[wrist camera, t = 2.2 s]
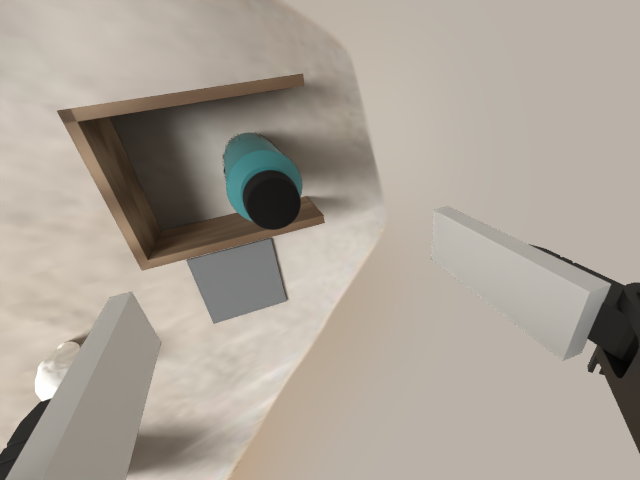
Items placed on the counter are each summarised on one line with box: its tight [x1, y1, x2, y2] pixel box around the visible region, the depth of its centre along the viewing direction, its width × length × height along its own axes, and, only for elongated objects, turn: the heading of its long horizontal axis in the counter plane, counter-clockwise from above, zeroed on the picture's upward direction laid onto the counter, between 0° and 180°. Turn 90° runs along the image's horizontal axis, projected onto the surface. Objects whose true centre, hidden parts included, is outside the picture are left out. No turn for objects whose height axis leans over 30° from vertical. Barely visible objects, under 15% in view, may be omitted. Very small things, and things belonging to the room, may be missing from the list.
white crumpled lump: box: [35, 342, 80, 401], centre depth 39 cm, size 6×8×12 cm
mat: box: [187, 238, 287, 323], centre depth 44 cm, size 12×12×1 cm
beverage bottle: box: [223, 133, 302, 230], centre depth 28 cm, size 6×7×20 cm
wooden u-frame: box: [57, 74, 325, 270], centre depth 33 cm, size 16×21×8 cm
